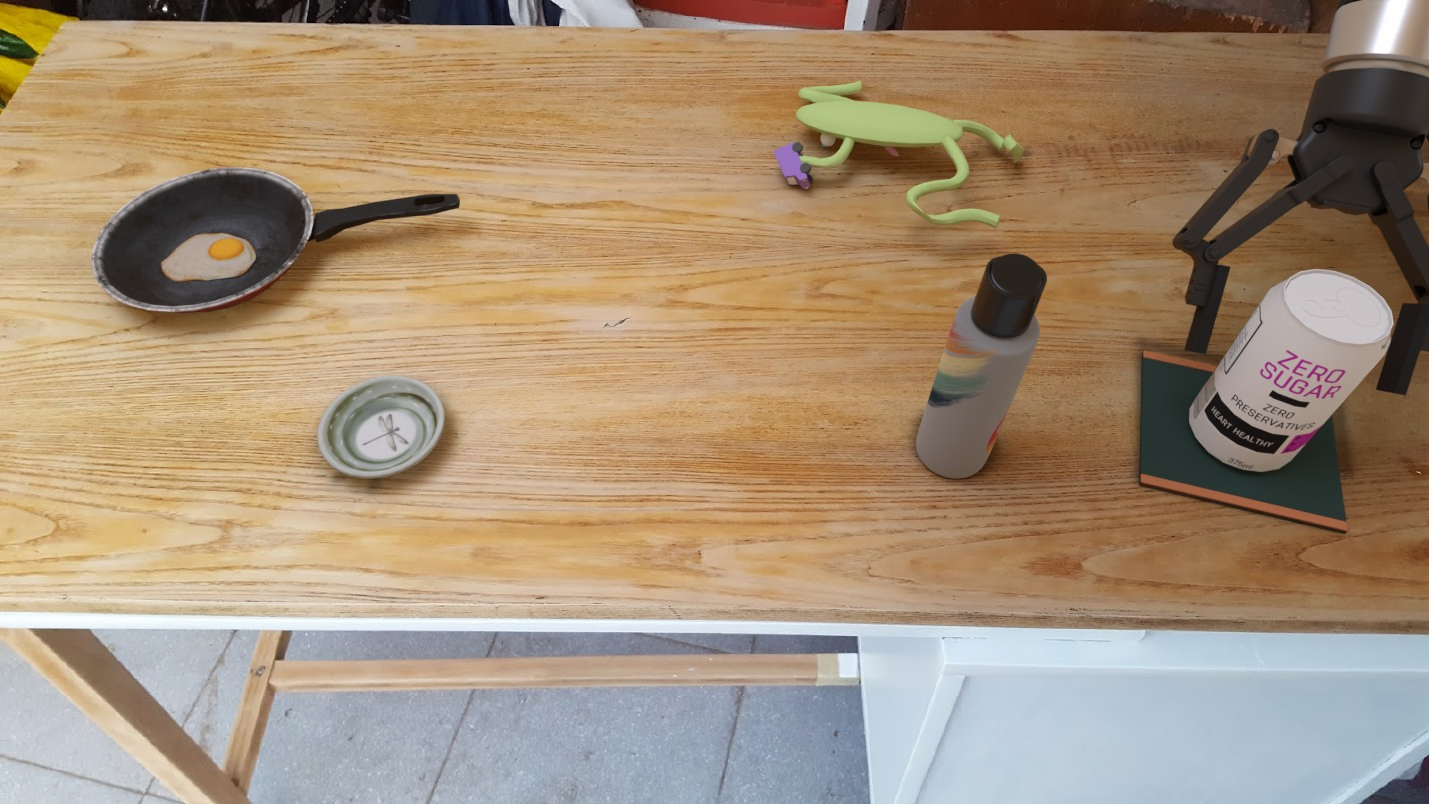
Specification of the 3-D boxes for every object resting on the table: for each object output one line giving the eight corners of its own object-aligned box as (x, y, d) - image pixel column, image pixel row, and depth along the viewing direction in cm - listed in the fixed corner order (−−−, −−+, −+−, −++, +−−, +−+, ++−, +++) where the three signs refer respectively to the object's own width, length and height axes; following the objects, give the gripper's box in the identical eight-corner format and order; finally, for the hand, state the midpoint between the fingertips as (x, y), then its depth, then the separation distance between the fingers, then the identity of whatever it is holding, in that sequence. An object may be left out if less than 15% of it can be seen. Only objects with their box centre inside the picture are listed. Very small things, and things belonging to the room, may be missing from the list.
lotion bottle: (990, 430, 76) (1066, 248, 61) (982, 488, 73) (1061, 310, 57) (919, 415, 77) (977, 231, 61) (909, 471, 74) (967, 291, 58)
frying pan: (126, 205, 92) (107, 174, 89) (462, 165, 96) (454, 134, 93) (90, 350, 80) (67, 320, 77) (472, 297, 85) (463, 267, 82)
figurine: (969, 278, 87) (984, 233, 83) (729, 169, 96) (731, 122, 92) (1048, 173, 96) (1065, 126, 92) (822, 82, 105) (828, 36, 101)
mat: (1326, 393, 79) (1329, 389, 79) (1344, 533, 71) (1348, 530, 71) (1141, 353, 82) (1143, 349, 81) (1138, 485, 73) (1141, 481, 73)
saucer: (302, 439, 75) (292, 421, 73) (406, 374, 79) (399, 355, 77) (369, 515, 71) (359, 498, 69) (475, 442, 75) (469, 423, 73)
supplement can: (1267, 392, 79) (1368, 261, 67) (1308, 476, 74) (1426, 350, 62) (1171, 394, 78) (1255, 263, 67) (1206, 478, 73) (1304, 352, 62)
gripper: (1538, 119, 68) (1445, 404, 71) (1178, 62, 72) (1105, 334, 75) (1615, 98, 61) (1508, 416, 64) (1210, 35, 65) (1128, 338, 68)
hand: (1290, 372), depth 70 cm, fingers open, 13 cm apart
